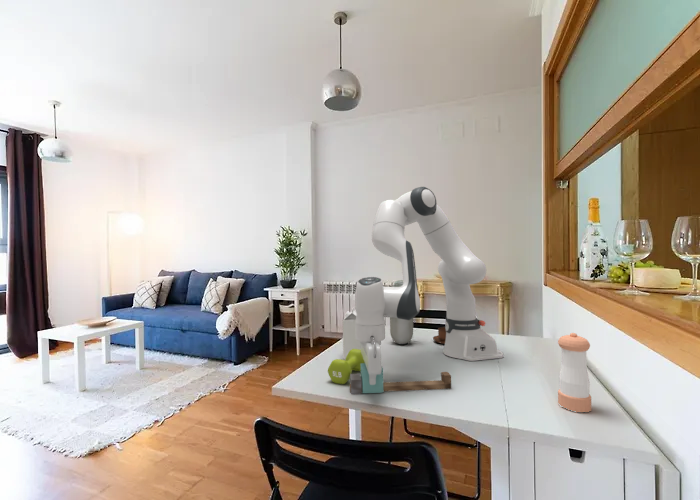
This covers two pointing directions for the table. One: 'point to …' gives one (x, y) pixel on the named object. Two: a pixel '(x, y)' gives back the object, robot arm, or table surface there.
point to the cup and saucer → (440, 335)
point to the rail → (403, 384)
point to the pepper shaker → (574, 374)
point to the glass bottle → (401, 325)
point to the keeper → (366, 385)
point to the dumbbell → (345, 366)
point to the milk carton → (349, 333)
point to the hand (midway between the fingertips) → (370, 379)
